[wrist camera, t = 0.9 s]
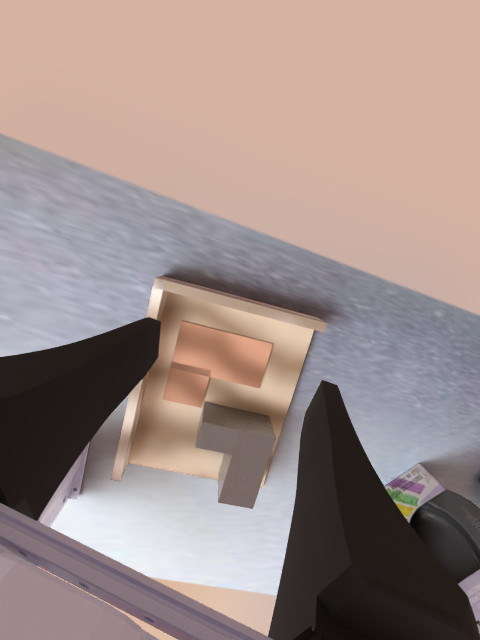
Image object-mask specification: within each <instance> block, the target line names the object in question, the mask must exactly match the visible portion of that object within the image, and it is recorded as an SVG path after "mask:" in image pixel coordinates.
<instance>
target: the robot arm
mask: <svg viewBox="0 0 480 640" xmlns="http://www.w3.org/2000/svg"><path fill="white" fill-rule="evenodd" d="M160 329H161V321H159V320H156V319H153V318H150V317H147V318H144V319H141V320H138V321H135V322H133V323H130V324H128V325H125V326H122V327H120V328H117V329H114V330H111V331H109V332H106V333H103V334H100V335H97V336H94V337H91V338H88V339H85V340H82V341H78V342H75V343H71V344H67V345H63V346H59V347H55V348H51V349H46V350H41V351H36V352H30V353H25V354H19V355H13V356H5V357H0V640H159V639H157V638H156V637H154V636H152V635H151V634H149V633H148V632H146V631H144V630H143V629H141V627H140V626H139V625H137V624H136V623H135V622H134V621H133V620H131V619H130V618H129V617H128V616H126V615H125V614H123V613H121V612H120V611H118V610H116V609H115V608H113V607H112V606H110V605H108V604H106V603H104V602H103V601H101V600H99V599H97V598H95V597H93V596H91V595H89V594H88V593H85V592H84V591H82V590H80V589H78V588H76V587H74V586H72V585H70V584H69V583H67V582H65V581H63V580H61V579H59V578H57V577H55V576H53V575H51V574H49V573H48V572H46V571H44V570H42V569H40V568H38V567H37V566H39V567H41V568H43V569H45V570H47V571H49V572H51V573H52V574H55V575H57V576H58V577H60V578H62V579H64V580H66V581H68V582H70V583H72V584H73V585H75V586H77V587H79V588H81V589H83V590H85V591H87V592H89V593H91V594H93V595H94V596H96V597H98V598H100V599H102V600H104V601H106V602H108V603H110V604H111V605H114V606H115V607H117V608H119V609H121V610H123V611H125V612H127V613H129V614H130V615H132V616H134V617H136V618H138V619H140V620H142V621H144V622H146V623H148V624H150V625H152V626H153V627H155V628H157V629H159V630H161V631H163V632H165V633H167V634H169V635H170V636H173V637H174V638H176V639H178V640H480V633H479V630H478V626H477V622H476V619H475V616H474V613H473V610H472V607H471V604H470V601H469V598H468V596H467V594H466V593H465V592H464V591H463V590H462V588H461V587H460V586H459V585H458V584H457V582H456V581H455V580H454V579H453V578H452V577H451V575H450V574H449V573H448V572H447V571H446V569H445V568H444V567H443V566H442V565H441V564H440V562H439V561H438V560H437V559H436V558H435V556H434V555H433V554H432V553H431V551H430V550H429V549H428V548H427V546H426V545H425V544H424V542H423V541H422V540H421V538H420V537H419V536H418V535H417V533H416V532H415V531H414V529H413V528H412V527H411V525H410V524H409V522H408V521H407V520H406V518H405V517H404V515H403V514H402V513H401V511H400V510H399V508H398V507H397V505H396V504H395V502H394V501H393V499H392V498H391V496H390V495H389V493H388V492H387V490H386V488H385V487H384V485H383V484H382V482H381V480H380V479H379V477H378V475H377V473H376V472H375V470H374V468H373V467H372V465H371V463H370V461H369V459H368V457H367V455H366V453H365V451H364V449H363V447H362V445H361V443H360V441H359V439H358V436H357V434H356V432H355V430H354V427H353V425H352V423H351V420H350V418H349V415H348V413H347V410H346V407H345V405H344V402H343V399H342V397H341V394H340V391H339V388H338V386H337V385H335V384H332V383H329V382H326V381H324V380H322V381H321V383H320V385H319V387H318V389H317V391H316V393H315V395H314V397H313V399H312V401H311V403H310V405H309V407H308V409H307V411H306V413H305V417H304V422H303V427H302V432H301V439H300V451H299V464H298V477H297V490H296V498H295V505H294V511H293V517H292V522H291V528H290V533H289V539H288V544H287V549H286V554H285V560H284V565H283V569H282V574H281V579H280V584H279V589H278V594H277V599H276V603H275V608H274V612H273V617H272V621H271V626H270V630H269V635H268V637H267V636H265V635H263V634H261V633H259V632H257V631H255V630H253V629H251V628H249V627H247V626H245V625H243V624H241V623H239V622H237V621H235V620H233V619H231V618H229V617H227V616H225V615H223V614H221V613H219V612H217V611H215V610H213V609H211V608H209V607H207V606H205V605H203V604H201V603H199V602H197V601H195V600H193V599H191V598H189V597H187V596H185V595H183V594H181V593H179V592H177V591H175V590H173V589H171V588H169V587H167V586H165V585H163V584H161V583H159V582H157V581H155V580H153V579H151V578H149V577H147V576H145V575H143V574H141V573H139V572H137V571H135V570H133V569H131V568H129V567H127V566H125V565H123V564H121V563H119V562H117V561H115V560H113V559H111V558H109V557H107V556H105V555H103V554H101V553H99V552H97V551H95V550H93V549H91V548H89V547H87V546H85V545H83V544H81V543H79V542H77V541H75V540H73V539H71V538H69V537H67V536H65V535H63V534H61V533H59V532H57V531H55V530H53V529H51V528H50V526H51V524H52V523H53V521H54V520H55V518H56V517H57V515H58V514H59V512H60V511H61V509H62V507H63V506H64V504H65V503H66V501H67V500H68V499H77V498H78V496H79V494H80V489H81V484H82V479H83V474H84V469H85V463H86V458H87V453H88V448H89V443H90V440H91V439H92V438H93V436H94V435H95V434H96V432H97V431H98V430H99V428H100V427H101V425H102V424H103V423H104V421H105V420H106V419H107V418H108V417H109V415H110V414H111V413H112V412H113V411H114V410H115V409H116V408H117V406H118V405H119V404H120V403H121V402H122V401H123V400H124V399H125V398H126V397H127V395H128V394H129V393H130V392H131V391H132V390H133V389H134V388H135V387H136V386H137V384H138V383H139V382H140V381H141V380H142V379H143V378H144V377H145V375H146V374H147V373H148V371H149V370H150V369H151V367H152V366H153V364H154V363H155V361H156V360H157V358H158V355H159V342H160ZM76 488H77V489H76Z"/></svg>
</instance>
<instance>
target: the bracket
mask: <svg viewBox="0 0 480 640" xmlns="http://www.w3.org/2000/svg"><path fill="white" fill-rule="evenodd" d="M275 439H276V436H275V433H274V430H273V427H272V423H271V420H270V417H269V416H268V415H264V414H259V413H255V412H250V411H246V410H241V409H237V408H232V407H228V406H223V405H219V404H214V403H210V402H204V406H203V409H202V413H201V417H200V421H199V425H198V432H197V438H196V445H195V448H200V449H205V450H210V451H215V452H220V453H224V456H223V459H222V463H221V466H220V469H219V473H218V503H224V504H229V505H235V506H240V507H246V508H251V509H253V507H254V504H255V501H256V498H257V494H258V491H259V488H260V485H261V482H262V479H263V476H264V473H265V470H266V467H267V464H268V461H269V458H270V455H271V452H272V449H273V446H274V443H275Z"/></svg>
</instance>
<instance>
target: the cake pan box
mask: <svg viewBox="0 0 480 640" xmlns="http://www.w3.org/2000/svg"><path fill="white" fill-rule="evenodd" d="M385 488H386V490H387V492H388V493H389V495H390V496H391V498H392V499H393V501H394V502H395V504H396V505H397V507H398V508H399V510H400V511H401V513H402V514H403V515H404V517H405V518H406V520H407V521H408V522H409V524H410V525H411V527H412V528H413V529H414V531H415V532H416V533H417V535H418V536H419V537H420V538H421V540H422V541H423V542H424V544H425V545H426V546H427V548H428V549H429V550H430V551H431V553H432V554H433V555H434V556H435V558H436V559H437V560H438V561H439V562H440V564H441V565H442V566H443V567H444V568H445V569H446V571H447V572H448V573H449V574H450V575H451V577H452V578H453V579H454V580H455V581H456V582H457V584H458V585H459V586H460V587H461V588H462V590H463V591H464V592H465V593H466V594H467V596H468V598H469V601H470V604H471V607H472V610H473V613H474V616H475V619H476V622H477V626H478V630H479V633H480V509H479V508H478V507H477V506H476V505H475V504H473V503H472V502H471V501H469V500H467V499H466V498H464V497H462V496H460V495H458V494H456V493H454V492H452V491H449V490H448V489H446V488H445V487H444V486H442V485H441V484H440V483H439V482H438V481H437V480H436V479H435V478H434V477H433V476H432V475H431V474H430V473H429V472H428V471H427V470H426V469H425V468H424V467H423V466H422V465H421V464H419V463H418V464H417V465H415V466H414V467H412V468H411V469H410V470H408V471H407V472H405V473H404V474H402V475H401V476H399V477H398V478H396V479H395V480H394V481H392V482H391V483H389V484H388V485H386V486H385Z"/></svg>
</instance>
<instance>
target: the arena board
mask: <svg viewBox="0 0 480 640" xmlns="http://www.w3.org/2000/svg"><path fill="white" fill-rule="evenodd" d="M147 317H150V318H153V319H156V320H159V321H161V329H160V342H159V355H158V358H157V360H156V361H155V363H154V364H153V366H152V367H151V369H150V370H149V371H148V373H147V374H146V375H145V377H144V378H143V379H142V380H141V381H140V382H139V383H138V384H137V386H136V387H135V388H134V389H133V390H132V391H131V392H130V394H129V398H128V403H127V408H126V412H125V417H124V421H123V426H122V430H121V435H120V440H119V444H118V449H117V453H116V458H115V462H114V467H113V472H112V476H111V480H116V481H120V480H121V478H122V476H123V473H124V471H125V469H126V467H127V465H128V463H131V464H137V465H142V466H147V467H152V468H157V469H163V470H168V471H173V472H178V473H183V474H188V475H194V476H199V477H204V478H209V479H214V480H218V473H219V469H220V466H221V463H222V459H223V456H224V453H220V452H215V451H210V450H205V449H200V448H195V445H196V438H197V432H198V425H199V421H200V417H201V413H202V409H203V406H204V402H210V403H214V404H219V405H223V406H228V407H232V408H237V409H241V410H246V411H250V412H255V413H259V414H264V415H268V416H269V417H270V420H271V423H272V427H273V430H274V433H275V436H276V439H275V443H274V446H273V449H272V452H271V455H270V458H269V461H268V464H267V467H266V470H265V473H264V476H263V479H262V482H261V485H260V488H261V489H262V487H263V484H264V481H265V478H266V475H267V472H268V469H269V466H270V463H271V460H272V457H273V454H274V451H275V448H276V445H277V442H278V438H279V435H280V432H281V429H282V426H283V423H284V420H285V417H286V414H287V411H288V408H289V405H290V402H291V399H292V396H293V393H294V390H295V387H296V384H297V381H298V378H299V375H300V372H301V369H302V366H303V363H304V359H305V356H306V353H307V350H308V347H309V344H310V341H311V338H312V335H313V332H314V330H317V331H321V332H325V330H326V327H327V324H328V323H326V322H324V321H323V320H321V319H319V318H318V317H315V316H311V315H308V314H304V313H300V312H296V311H293V310H289V309H285V308H281V307H278V306H274V305H270V304H266V303H263V302H259V301H255V300H251V299H248V298H244V297H240V296H237V295H233V294H229V293H225V292H222V291H218V290H214V289H210V288H207V287H203V286H199V285H195V284H192V283H188V282H184V281H180V280H177V279H173V278H169V277H165V276H159V277H155V280H154V284H153V289H152V293H151V298H150V302H149V307H148V312H147V316H146V318H147Z"/></svg>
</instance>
